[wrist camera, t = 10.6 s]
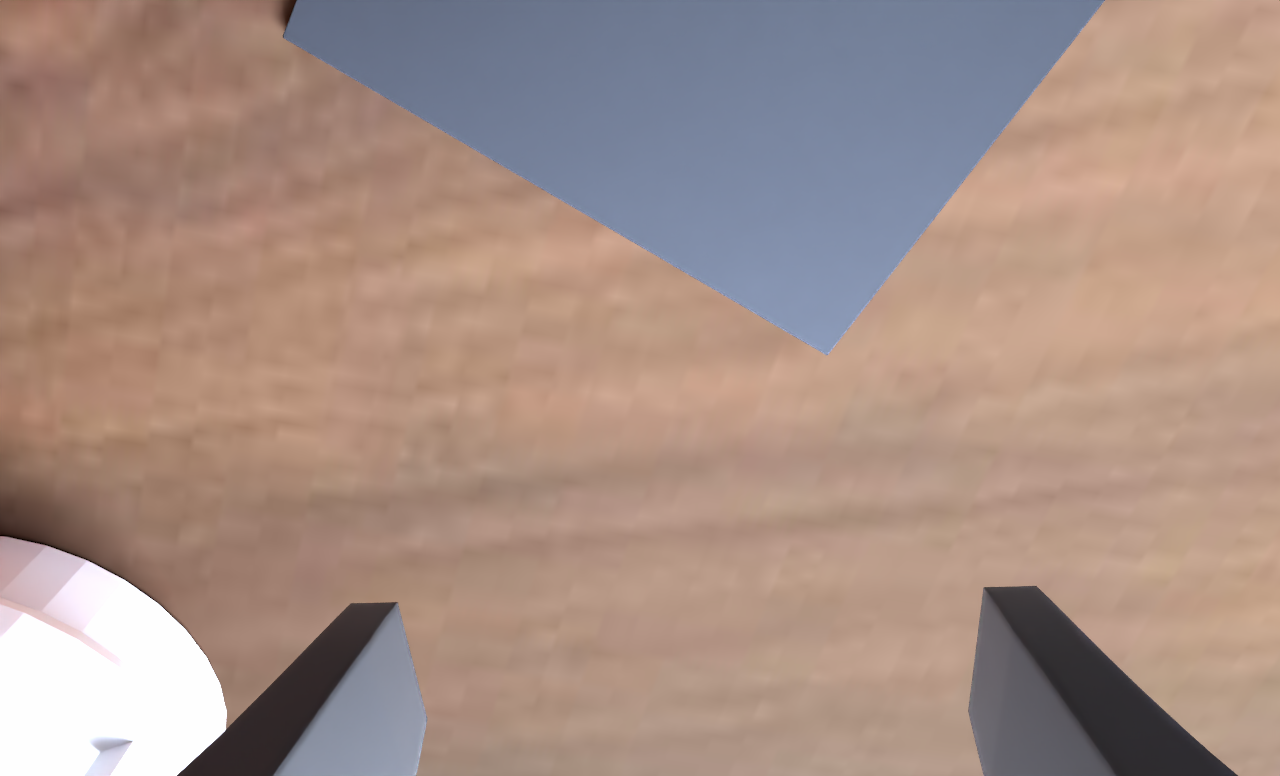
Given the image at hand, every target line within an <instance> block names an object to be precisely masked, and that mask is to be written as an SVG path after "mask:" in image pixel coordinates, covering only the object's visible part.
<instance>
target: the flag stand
mask: <svg viewBox="0 0 1280 776" xmlns="http://www.w3.org/2000/svg"><path fill="white" fill-rule="evenodd" d="M225 727H226V708H225V704H224V700H223V696H222V691H221V687H220V684H219V682H218V680H217V678H216V676H215V674H214V672H213V670H212V667H211V665H210V663H209V661H208V659H207V657H206V656H205V655H204V653H203V652H202V651H201V649H200V648H199V647H198V645H197V644H196V643H195V641H194V640H193V639H192V637H191V636H190V635H189V634H188V632H187V631H186V630H185V629H184V628H183V627H182V626H181V625H180V624H179V623H178V622H177V621H176V620H175V619H174V618H173V617H172V616H171V615H170V614H169V613H167V612H166V611H165V610H164V609H163V608H162V607H161V606H160V605H159V604H158V603H157V602H155V601H154V600H152V599H151V598H149V597H148V596H147V595H145V594H144V593H142V592H141V591H140V590H138V589H137V588H135V587H134V586H133V585H131V584H130V583H128V582H127V581H125V580H124V579H122V578H120V577H118V576H116V575H114V574H112V573H110V572H108V571H107V570H105V569H103V568H101V567H99V566H97V565H95V564H93V563H91V562H89V561H87V560H85V559H82V558H79V557H76V556H74V555H71V554H68V553H66V552H63V551H60V550H57V549H55V548H52V547H49V546H46V545H41V544H37V543H32V542H28V541H23V540H19V539H14V538H10V537H2V536H0V776H176V775H177V774H178V773H179V772H181V771H182V770H183V769H184V768H185V767H186V766H187V765H188V764H189V763H190V762H191V761H193V760H194V759H195V758H196V757H197V756H198V755H199V754H200V753H201V752H202V751H203V750H204V749H206V748H207V747H208V746H209V745H210V744H211V743H212V742H213V741H214V740H215V739H216V738H218V737H219V736H220V735H221V734H222V733H223V732H224V731H225Z"/></svg>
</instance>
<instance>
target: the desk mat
mask: <svg viewBox="0 0 1280 776" xmlns="http://www.w3.org/2000/svg"><path fill="white" fill-rule="evenodd" d="M1104 1H1105V0H296V3H295V5H294V8H293V11H292V13H291V16H290V19H289V21H288V24H287V26H286V29H285V32H284V34H283V38H284V39H286V40H288V41H290V42H291V43H293V44H295V45H296V46H298V47H300V48H302V49H303V50H305V51H307V52H308V53H310V54H312V55H314V56H315V57H317V58H319V59H320V60H322V61H324V62H325V63H327V64H329V65H331V66H332V67H334V68H336V69H337V70H339V71H341V72H343V73H344V74H346V75H348V76H349V77H351V78H353V79H355V80H356V81H358V82H360V83H361V84H363V85H365V86H367V87H368V88H370V89H372V90H373V91H375V92H377V93H379V94H380V95H382V96H384V97H385V98H387V99H389V100H391V101H392V102H394V103H396V104H397V105H399V106H401V107H403V108H404V109H406V110H408V111H409V112H411V113H413V114H415V115H416V116H418V117H420V118H421V119H423V120H425V121H427V122H428V123H430V124H432V125H433V126H435V127H437V128H438V129H440V130H442V131H444V132H445V133H447V134H449V135H450V136H452V137H454V138H456V139H457V140H459V141H461V142H462V143H464V144H466V145H468V146H469V147H471V148H473V149H474V150H476V151H478V152H480V153H481V154H483V155H485V156H486V157H488V158H490V159H492V160H493V161H495V162H497V163H498V164H500V165H502V166H504V167H505V168H507V169H509V170H510V171H512V172H514V173H516V174H517V175H519V176H521V177H522V178H524V179H526V180H528V181H529V182H531V183H533V184H534V185H536V186H538V187H540V188H541V189H543V190H545V191H546V192H548V193H550V194H551V195H553V196H555V197H557V198H558V199H560V200H562V201H563V202H565V203H567V204H569V205H570V206H572V207H574V208H575V209H577V210H579V211H581V212H582V213H584V214H586V215H587V216H589V217H591V218H593V219H594V220H596V221H598V222H599V223H601V224H603V225H605V226H606V227H608V228H610V229H611V230H613V231H615V232H617V233H618V234H620V235H622V236H623V237H625V238H627V239H629V240H630V241H632V242H634V243H635V244H637V245H639V246H641V247H642V248H644V249H646V250H647V251H649V252H651V253H653V254H654V255H656V256H658V257H659V258H661V259H663V260H664V261H666V262H668V263H670V264H671V265H673V266H675V267H676V268H678V269H680V270H682V271H683V272H685V273H687V274H688V275H690V276H692V277H694V278H695V279H697V280H699V281H700V282H702V283H704V284H706V285H707V286H709V287H711V288H712V289H714V290H716V291H718V292H719V293H721V294H723V295H724V296H726V297H728V298H730V299H731V300H733V301H735V302H736V303H738V304H740V305H742V306H743V307H745V308H747V309H748V310H750V311H752V312H754V313H755V314H757V315H759V316H760V317H762V318H764V319H766V320H767V321H769V322H771V323H772V324H774V325H776V326H777V327H779V328H781V329H783V330H784V331H786V332H788V333H789V334H791V335H793V336H795V337H796V338H798V339H800V340H801V341H803V342H805V343H807V344H808V345H810V346H812V347H813V348H815V349H817V350H819V351H820V352H822V353H824V354H825V355H828V354H829V353H830V352H831V350H832V349H833V348H834V346H835V345H836V344H837V343H838V341H839V340H840V339H841V337H842V336H843V335H844V334H845V332H846V331H847V330H848V328H849V327H850V326H851V325H852V323H853V322H854V321H855V319H856V318H857V317H858V316H859V314H860V313H861V312H862V311H863V309H864V308H865V307H866V305H867V304H868V303H869V302H870V300H871V299H872V298H873V296H874V295H875V294H876V293H877V291H878V290H879V289H880V287H881V286H882V285H883V284H884V282H885V281H886V280H887V279H888V277H889V276H890V275H891V273H892V272H893V271H894V270H895V268H896V267H897V266H898V264H899V263H900V262H901V261H902V259H903V258H904V257H905V255H906V254H907V253H908V252H909V250H910V249H911V248H912V247H913V245H914V244H915V243H916V241H917V240H918V239H919V238H920V236H921V235H922V234H923V232H924V231H925V230H926V229H927V227H928V226H929V225H930V223H931V222H932V221H933V220H934V218H935V217H936V216H937V215H938V213H939V212H940V211H941V209H942V208H943V207H944V206H945V204H946V203H947V202H948V200H949V199H950V198H951V197H952V195H953V194H954V193H955V191H956V190H957V189H958V188H959V186H960V185H961V184H962V183H963V181H964V180H965V179H966V177H967V176H968V175H969V174H970V172H971V171H972V170H973V168H974V167H975V166H976V165H977V163H978V162H979V161H980V159H981V158H982V157H983V156H984V154H985V153H986V152H987V151H988V149H989V148H990V147H991V145H992V144H993V143H994V142H995V140H996V139H997V138H998V136H999V135H1000V134H1001V133H1002V131H1003V130H1004V129H1005V127H1006V126H1007V125H1008V124H1009V122H1010V121H1011V120H1012V119H1013V117H1014V116H1015V115H1016V113H1017V112H1018V111H1019V110H1020V108H1021V107H1022V106H1023V104H1024V103H1025V102H1026V101H1027V99H1028V98H1029V97H1030V95H1031V94H1032V93H1033V92H1034V90H1035V89H1036V88H1037V87H1038V85H1039V84H1040V83H1041V81H1042V80H1043V79H1044V78H1045V76H1046V75H1047V74H1048V72H1049V71H1050V70H1051V69H1052V67H1053V66H1054V65H1055V63H1056V62H1057V61H1058V60H1059V58H1060V57H1061V56H1062V55H1063V53H1064V52H1065V51H1066V49H1067V48H1068V47H1069V46H1070V44H1071V43H1072V42H1073V40H1074V39H1075V38H1076V37H1077V35H1078V34H1079V33H1080V31H1081V30H1082V29H1083V28H1084V26H1085V25H1086V24H1087V23H1088V21H1089V20H1090V19H1091V17H1092V16H1093V15H1094V14H1095V12H1096V11H1097V10H1098V8H1099V7H1100V6H1101V5H1102V3H1103V2H1104Z"/></svg>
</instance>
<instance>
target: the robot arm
mask: <svg viewBox="0 0 1280 776" xmlns="http://www.w3.org/2000/svg"><path fill="white" fill-rule="evenodd" d="M968 712H969V716H970V720H971V725H972V729H973V733H974V737H975V742H976V746H977V750H978V754H979V758H980V762H981V766H982V770H983V774H984V776H1238V775H1237V774H1235V773H1234V772H1233V771H1232V770H1231V769H1229V768H1228V767H1227V766H1226V765H1225V764H1223V763H1222V762H1221V761H1220V760H1219V759H1217V758H1216V757H1215V756H1214V755H1213V754H1212V753H1210V752H1209V751H1208V750H1207V749H1206V748H1205V747H1204V746H1203V745H1201V744H1200V743H1199V742H1198V741H1197V740H1196V739H1195V738H1194V737H1192V736H1191V735H1190V734H1189V733H1188V732H1187V731H1186V730H1185V729H1184V728H1182V727H1181V726H1180V725H1179V724H1178V723H1177V722H1176V721H1175V720H1174V719H1173V718H1172V717H1171V716H1170V715H1168V714H1167V713H1166V712H1165V711H1164V710H1163V709H1162V708H1161V707H1160V706H1159V705H1158V704H1157V703H1155V702H1154V701H1153V700H1152V699H1151V698H1150V697H1149V696H1148V695H1147V694H1146V693H1145V692H1144V691H1142V690H1141V689H1140V688H1139V687H1138V686H1137V685H1136V684H1135V683H1134V682H1133V681H1132V680H1131V679H1130V678H1129V677H1128V676H1127V675H1126V674H1125V673H1124V672H1123V671H1122V670H1121V669H1120V668H1119V667H1118V666H1117V665H1116V664H1115V663H1113V662H1112V661H1111V660H1110V659H1109V658H1108V657H1107V656H1106V655H1105V654H1104V653H1103V652H1102V651H1101V650H1100V649H1099V648H1098V647H1097V646H1096V645H1095V644H1094V643H1093V642H1092V641H1091V640H1090V639H1089V638H1088V637H1087V636H1086V635H1085V634H1084V633H1083V632H1082V631H1081V630H1080V629H1079V628H1078V627H1077V626H1076V625H1075V624H1074V623H1073V622H1072V621H1071V620H1070V619H1069V618H1068V617H1067V616H1066V615H1065V614H1064V613H1063V612H1062V611H1061V610H1060V609H1059V608H1058V607H1057V606H1056V605H1055V604H1054V603H1053V602H1052V601H1051V600H1050V599H1049V598H1048V597H1047V596H1046V595H1045V594H1044V593H1043V592H1042V591H1041V590H1040V589H1039V588H1038V587H1037V586H1022V587H984V589H983V597H982V605H981V613H980V621H979V629H978V637H977V645H976V654H975V662H974V670H973V678H972V686H971V694H970V702H969V710H968ZM426 723H427V716H426V712H425V708H424V704H423V700H422V696H421V693H420V689H419V685H418V681H417V677H416V673H415V669H414V665H413V661H412V657H411V653H410V649H409V645H408V641H407V638H406V634H405V630H404V626H403V622H402V618H401V614H400V610H399V606H398V602H392V603H352V604H350V605H349V606H348V607H347V608H346V609H345V610H344V611H343V612H342V613H341V614H340V615H339V616H338V617H337V618H336V619H335V620H334V621H333V622H332V623H331V624H330V625H329V626H328V627H327V628H326V629H325V630H324V631H323V632H322V633H321V634H320V635H319V636H318V637H317V638H316V639H315V640H314V641H313V642H312V643H311V644H310V645H309V646H308V647H307V648H306V650H305V651H304V652H303V653H302V654H301V655H300V656H299V657H298V658H297V659H296V660H295V661H294V662H293V663H292V664H291V665H290V666H289V667H288V668H287V669H286V670H285V671H284V672H283V673H282V674H281V675H280V676H279V677H278V678H277V679H276V680H275V681H274V682H273V683H272V684H271V685H270V686H269V687H268V688H267V689H266V690H265V691H264V692H263V693H262V694H261V695H260V696H259V697H258V698H257V699H256V700H255V701H254V702H253V703H252V704H251V705H250V706H249V707H248V708H247V709H246V710H245V711H244V712H243V713H242V714H241V715H240V716H239V717H238V718H237V719H236V720H235V721H234V722H233V723H232V724H231V725H230V726H229V727H228V728H227V729H226V730H225V731H224V732H223V733H222V734H221V735H220V736H219V737H218V738H216V739H215V740H214V741H213V742H212V743H211V744H210V745H209V746H208V747H207V748H206V749H204V750H203V751H202V752H201V753H200V754H199V755H198V756H197V757H196V758H195V759H194V760H193V761H191V762H190V763H189V764H188V765H187V766H186V767H185V768H184V769H183V770H182V771H181V772H179V773H178V774H177V775H176V776H416V773H417V768H418V764H419V759H420V754H421V749H422V744H423V739H424V734H425V729H426Z"/></svg>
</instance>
